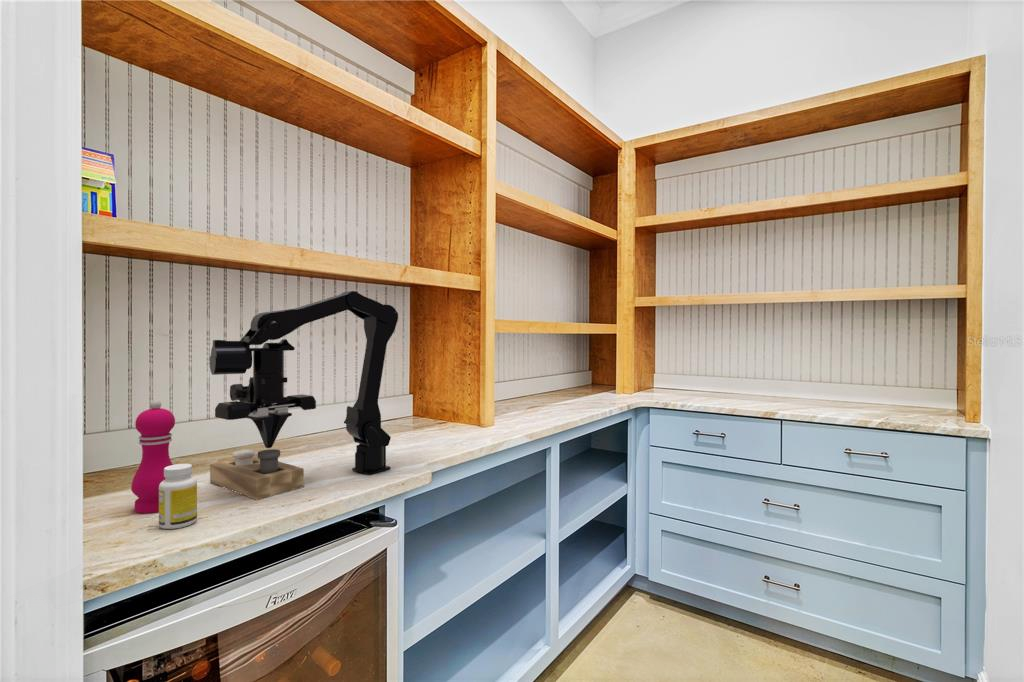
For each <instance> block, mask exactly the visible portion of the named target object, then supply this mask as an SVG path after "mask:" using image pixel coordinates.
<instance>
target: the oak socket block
mask: <svg viewBox="0 0 1024 682" xmlns="http://www.w3.org/2000/svg"><path fill="white" fill-rule="evenodd" d="M304 470H305V469H304V467H300V466H296V465H293V464H289V463H286V462H282V461H279V460H278V471H277V472H273V473H269V474H261V473H260V459H259V458H258V454H257V455H256V454H255V456H253V464H249V465H244V466H240V467H238V466H235V459H231V460H230V459H229V460H225V461H220V462H216V463H215V462H213V463H210V464H209V483H210V482H211V483H210V484H212V483H214V484H213V485H215V484H217V485H219V486H218V487H220V486H222V487H221V488H223V487H225V488H228V489H230V490H229V491H231V490H233V491H232V492H234V491H236V492H239V493H241V494H240V495H242V494H244V495H246V496H245V497H247V496H248V498H250V497H251V498H250V499H252V498H253V500H255V499H256V500H255V501H258V499H259V500H261V499H262V498H263V499H266V498H269V497H268V496H270V497H273V496H272V495H274V496H277V495H281V494H284V493H287V491H288V492H292V491H294V489H295V490H298V489H297V488H299V489H302V488H301V487H303V488H304V487H305V485H304V482H305V480H304V477H305V475H304V474H305V472H304ZM217 485H216V486H217ZM225 488H224V489H225ZM228 489H227V490H228ZM291 490H292V491H291ZM236 492H235V493H236ZM283 492H284V493H283ZM239 493H238V494H239ZM280 493H281V494H280ZM276 494H277V495H276ZM244 495H243V496H244ZM265 497H266V498H265Z"/></svg>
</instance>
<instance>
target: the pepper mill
mask: <svg viewBox="0 0 1024 682" xmlns="http://www.w3.org/2000/svg"><path fill="white" fill-rule="evenodd" d="M161 407H162V402H161V401H160V400H157V399H155V400H152V401H151V402H150V403H149V409H145V410H143V411H142V412H140V413H139V414H138V415H137V417H136V418H135V425H134V426H135V429H136V431H137V432H138V433H140V436H139V437H138V439H139V441H138V444H139V445H140V446H141V449H142V456H141V460H140V463H139V466H138V468H137V470H136V472H135V474H134V476H133V478H132V481H131V488H130V489H131V492H132V494H133V495H134V496H136V497H137V499H135V501H134V511H135V513H139V514H152V513H153V514H155V513H159V485H160V483H161V482H162V481H163V480H165V479H166V477H164V468H165V467H167V466H171V465H174V464H173V462H172V461H171V458H170V451H169V449H170V443H171V442H172V441H173V439H172V436H173V433H171V430H173V428H174V427H175V424H176V418H175V415H174V414H173V412H172V411H170V410H169V409H166V408H161Z"/></svg>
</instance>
